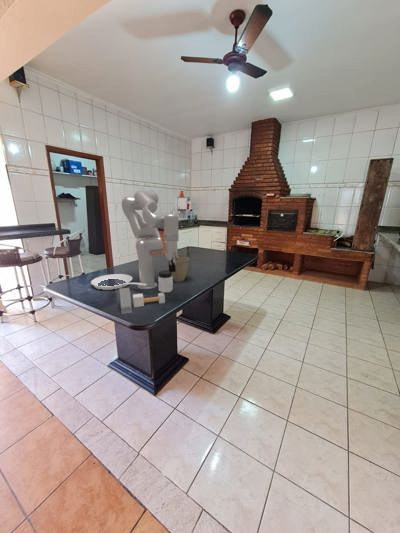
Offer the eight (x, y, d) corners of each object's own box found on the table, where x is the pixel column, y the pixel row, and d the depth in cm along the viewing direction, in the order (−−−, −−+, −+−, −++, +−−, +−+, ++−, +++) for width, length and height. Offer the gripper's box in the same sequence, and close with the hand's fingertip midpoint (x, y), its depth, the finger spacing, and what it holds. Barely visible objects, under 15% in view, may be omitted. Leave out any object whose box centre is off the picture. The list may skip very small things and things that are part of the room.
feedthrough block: (120, 301, 123) (119, 286, 121) (129, 300, 125) (128, 285, 123) (121, 314, 109) (120, 297, 106) (132, 312, 111) (130, 296, 108)
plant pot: (190, 277, 166) (190, 256, 162) (187, 284, 152) (187, 261, 147) (170, 276, 167) (170, 256, 163) (166, 283, 153) (165, 261, 149)
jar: (175, 290, 140) (175, 272, 137) (165, 293, 135) (164, 275, 131) (166, 286, 146) (166, 269, 143) (156, 290, 141) (155, 271, 137)
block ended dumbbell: (133, 303, 120) (132, 294, 119) (163, 299, 126) (163, 290, 125) (134, 307, 116) (133, 297, 115) (165, 302, 122) (164, 293, 121)
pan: (115, 276, 168) (115, 268, 166) (160, 287, 146) (160, 278, 144) (83, 286, 146) (81, 277, 144) (130, 301, 124) (129, 291, 122)
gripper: (161, 236, 122) (162, 268, 127) (167, 240, 108) (168, 276, 113) (174, 236, 125) (175, 267, 129) (182, 239, 111) (182, 274, 116)
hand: (172, 271), depth 121 cm, fingers closed
